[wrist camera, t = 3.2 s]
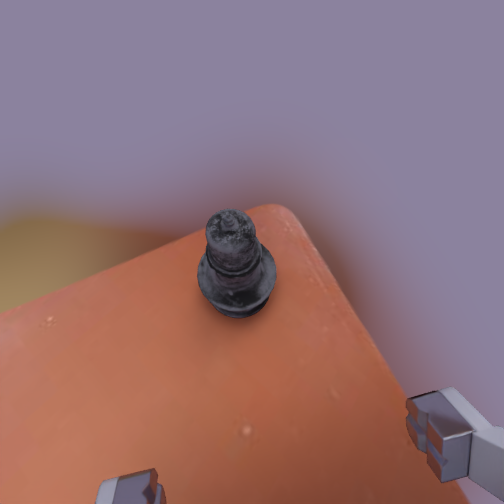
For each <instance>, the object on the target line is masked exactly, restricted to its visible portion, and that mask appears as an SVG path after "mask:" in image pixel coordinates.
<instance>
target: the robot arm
mask: <svg viewBox="0 0 504 504" xmlns="http://www.w3.org/2000/svg"><path fill="white" fill-rule="evenodd" d="M406 409H407V410H408V411H409V414H408V415H407V417H406V427H407V430H408V433H409V436H410V437H411V439H412V441H413V443H414V444H415V446H416V447H417V449H418V450H420V451H422V452H424V453H425V454H427V464H428V465H429V466H430V468H431V469H432V471H433V472H434V474H435V475H436V477H437V478H438V479H439V481H440V482H441V483H444V482H448V481H452V480H456V479H459V478H463V477H467V476H468V478H469V479H471V480H472V481H474V482H475V483H477V484H478V485H480V486H481V487H483V488H484V489H485V490H487V491H488V492H490V493H491V494H493V495H494V496H496V497H497V498H499V499H500V500H502V501H503V502H504V428H502V427H500V426H495V427H493V426H492V425H491V424H490V423H489V422H488V421H487V420H486V419H485V418H484V417H483V416H482V415H481V414H480V413H479V412H478V411H477V410H476V409H475V408H474V407H473V406H472V405H471V404H470V403H469V402H468V401H467V400H466V399H465V398H464V397H463V396H462V395H461V394H460V393H459V392H458V391H457V390H456V389H455V388H453V387H447V388H444V389H441V390H437V391H432V392H428V393H425V394H421V395H418V396H414V397H411V398H407V400H406ZM157 481H158V474H157V472H156V470H155V468H152V469H148V470H144V471H140V472H135V473H131V474H127V475H123V476H119V477H115V478H111V479H108V480H104V481H103V482H102V483H101V485H100V487H99V490H98V494H97V498H96V501H95V504H166V496H165V491H164V488H163V486H162V485H161V484H159V483H157Z"/></svg>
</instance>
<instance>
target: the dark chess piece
mask: <svg viewBox="0 0 504 504" xmlns="http://www.w3.org/2000/svg"><path fill="white" fill-rule="evenodd" d="M206 239H207V242H208V243H207V246H206V252H205V254H204V255H203V256H202V258H201V261H200V263H199V266H198V274H197V278H198V283H199V287H200V289H201V291H202V293H203V295H204V296H205V297H206V298H207V299H208V300H209V301H210V303H212V304H213V306H214V307H215V308H216V309H217V310H218V311H219V312H221V313H222V314H224V315H226V316H229V317H233V318H244V317H248V316H251V315H253V314H255V313H257V312H258V311H259V310H260V309H262V308H263V307H264V305H265V304H266V302H267V300H268V298H269V295H270V293H271V291H272V290H273V288H274V285H275V281H276V265H275V262H274V259H273V257H272V255H271V254H270V252H269V251H268V250H267V249H266V248H265V247H264V246H263V245H262V244H261V243H260V242H259V240H258V239H257V237H256V230H255V226H254V224H253V222H252V220H251V219H250V217H249V216H248V215H247V214H245V213H244V212H242V211H240V210H236V209H225V210H221V211H219V212H217V213H215V214H214V215H213V216H212V217H211V218H210V219H209V221H208V223H207V226H206Z"/></svg>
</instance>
